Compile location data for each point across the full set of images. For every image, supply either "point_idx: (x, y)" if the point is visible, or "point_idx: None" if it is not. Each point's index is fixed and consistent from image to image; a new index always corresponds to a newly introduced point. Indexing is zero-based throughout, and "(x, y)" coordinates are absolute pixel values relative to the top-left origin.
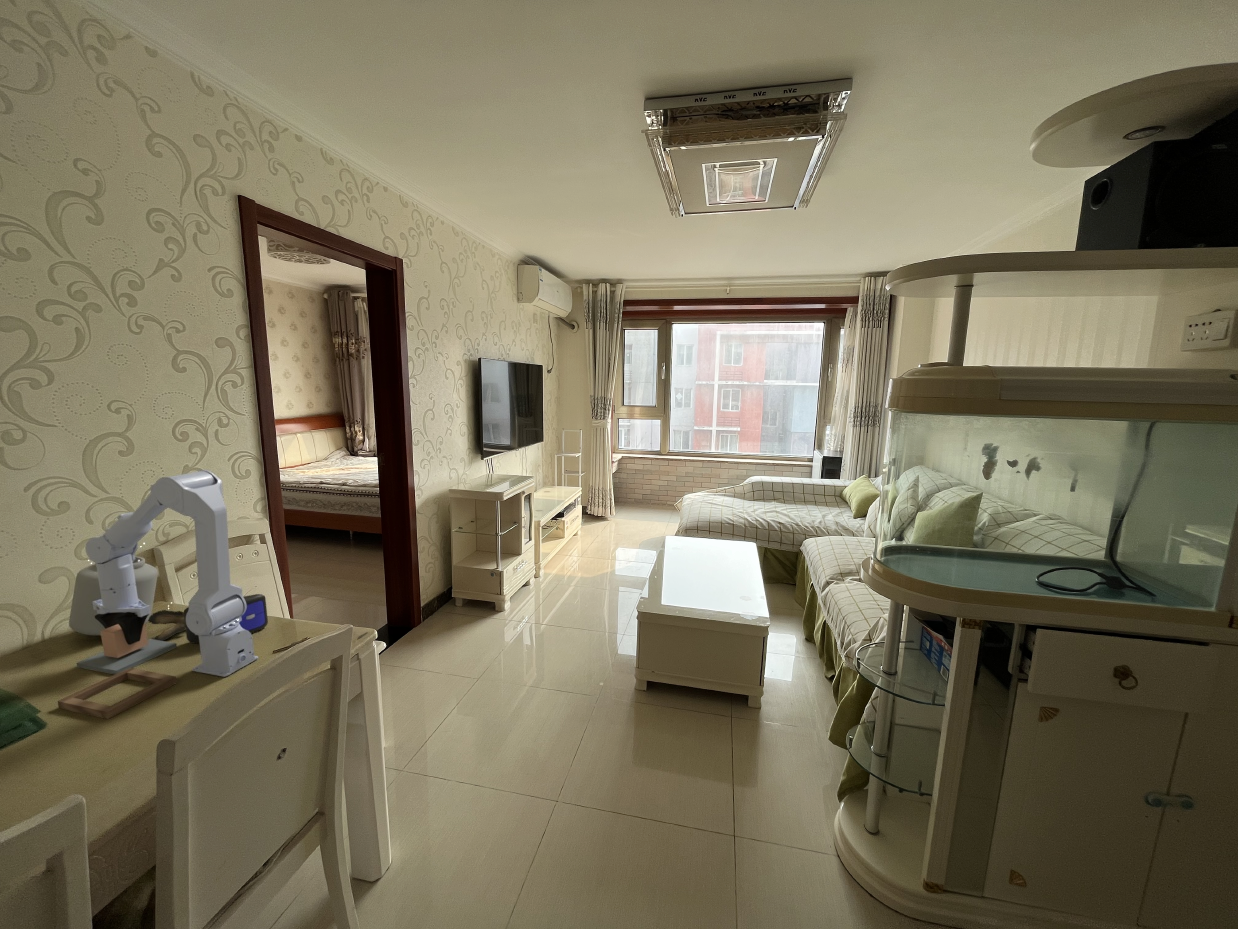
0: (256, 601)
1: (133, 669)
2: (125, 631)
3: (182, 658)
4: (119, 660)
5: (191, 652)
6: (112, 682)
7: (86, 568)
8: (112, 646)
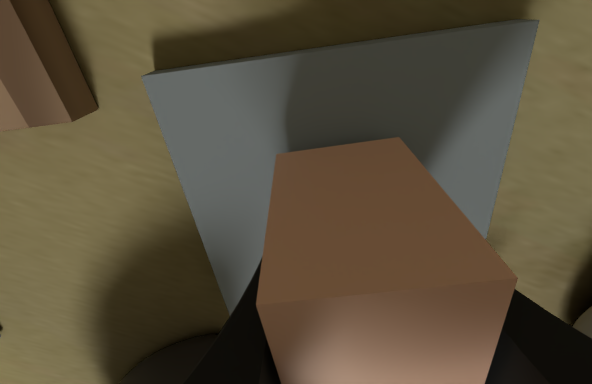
0: None
1: (25, 118)
2: (222, 348)
3: (94, 268)
4: (283, 151)
5: (129, 301)
6: None
7: None
8: (313, 189)
